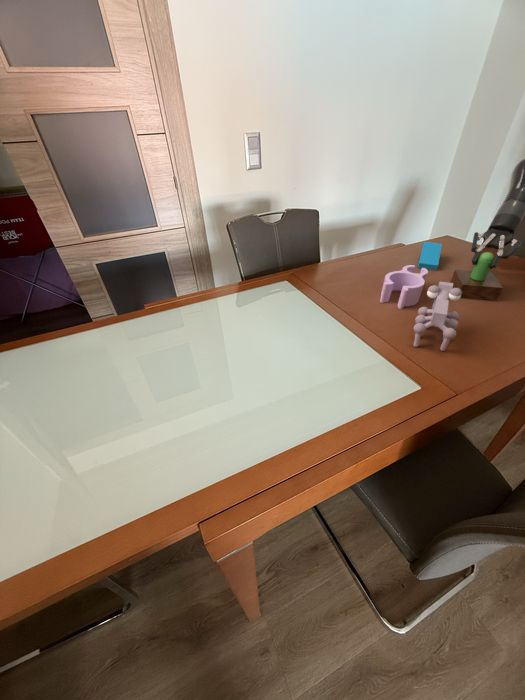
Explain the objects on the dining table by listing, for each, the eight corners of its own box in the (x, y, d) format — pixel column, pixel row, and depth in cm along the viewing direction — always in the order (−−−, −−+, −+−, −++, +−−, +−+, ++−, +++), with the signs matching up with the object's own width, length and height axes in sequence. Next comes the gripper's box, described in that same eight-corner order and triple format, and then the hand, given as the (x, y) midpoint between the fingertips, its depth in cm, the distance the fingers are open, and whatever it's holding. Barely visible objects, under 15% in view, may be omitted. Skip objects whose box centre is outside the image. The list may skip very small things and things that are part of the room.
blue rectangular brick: (432, 279, 126) (437, 252, 134) (438, 265, 120) (442, 238, 129) (414, 276, 128) (420, 250, 137) (419, 263, 122) (425, 236, 131)
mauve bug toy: (416, 311, 99) (429, 273, 91) (452, 319, 95) (469, 279, 87) (406, 345, 86) (421, 304, 77) (448, 356, 82) (468, 314, 73)
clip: (397, 279, 117) (402, 262, 113) (430, 289, 110) (437, 271, 106) (373, 299, 106) (377, 281, 102) (408, 311, 99) (414, 293, 95)
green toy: (483, 275, 106) (494, 250, 100) (487, 281, 103) (499, 255, 97) (468, 274, 107) (479, 249, 101) (472, 280, 104) (483, 254, 98)
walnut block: (485, 284, 111) (491, 272, 108) (496, 301, 102) (503, 287, 99) (450, 281, 114) (454, 269, 111) (457, 297, 105) (462, 284, 102)
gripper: (484, 208, 100) (459, 255, 101) (537, 216, 93) (510, 266, 94) (481, 221, 107) (458, 265, 108) (530, 229, 99) (505, 276, 100)
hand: (482, 265), depth 101 cm, fingers closed on green toy, 4 cm apart
